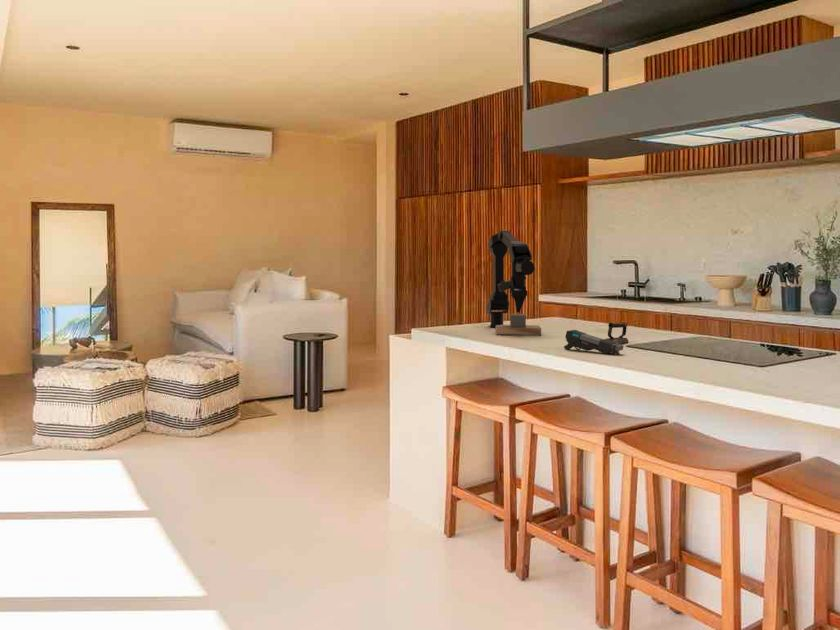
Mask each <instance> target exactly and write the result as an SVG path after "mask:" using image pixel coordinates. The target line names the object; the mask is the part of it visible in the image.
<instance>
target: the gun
mask: <svg viewBox="0 0 840 630" xmlns="http://www.w3.org/2000/svg"><path fill="white" fill-rule="evenodd" d="M565 333H566V334H565V341H566V342H567V344H566V345H564V346H563V348H564V350H565V351H567V350H568V351H569V350H570V349H572V348H575V350H576V351H580V350H583V351H587V352H588V351H592V350H593V351H594V350H595V351H598V352H600V353H603V354H605V355H606V354H611V355H614V356H617V355H620V351H623V350H624V345H625V344H624V345H621V344H618V343H616V342H613V341H610V340H607V338H601V337H598V336H595V335H591V334H588V333H587V332H583V331H579V330H577V329H571V330H566V332H565Z"/></svg>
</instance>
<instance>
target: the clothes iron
mask: <svg viewBox="0 0 840 630" xmlns="http://www.w3.org/2000/svg"><path fill="white" fill-rule="evenodd" d="M627 327H628V325H627V323H626V322H609V323H608V330H607V336H608V337H607V338H606V339H607V340H610V341H613V342H616V343H618V344H621V345H627V344H629V343H630V341H629V339H628V338H627V337H625V336H626V334H627ZM616 328H617V329H618V328H622V332H621V335H619V336H618V337H613V335H612V333H613V329H616Z"/></svg>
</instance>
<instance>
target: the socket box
mask: <svg viewBox="0 0 840 630" xmlns="http://www.w3.org/2000/svg"><path fill="white" fill-rule="evenodd" d="M496 335H501V336H509V337H510V336H511V337H512V336H514V337H517V336H518V337H519V336H520V337H521V336H522V337H542V327H541V326H540V325H536V324H533V325H532V324H531V325H530V324H529V325H527V324H526V328H514V327H510V324H503V325H496V327H495V336H496ZM501 336H500V337H501Z"/></svg>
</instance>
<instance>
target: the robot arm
mask: <svg viewBox="0 0 840 630" xmlns="http://www.w3.org/2000/svg"><path fill="white" fill-rule="evenodd" d="M487 242H488V248H489V253H490V254H491V256H492V264H493V265H492V277H493V278H492V281H493V282H492V284H493V285H492V289H493V290H492V291H491V293H490V295H489V300H488V302H487V306H486V307H485V311H486V314H490V324H489V328H496V325H504V314H508V312H509V305H510V301H509V295H508V294H507V292H506V291H507V290H509V294H510V296H511V297H512V298H513V299H514V303H515V310H516V312H517V313H520V312H521V310H522V307H523V304H524V303H525V301H526V298H527V297H528V290H527V287H526V280H527V276H530V275H532V274H533V273H534V272H535V269H536V267H535V264H534V262H532V261H531V260H533V259H532V257H533V255H532V253H531V250H530V248H529V245H528V244H527V243H526V242H523V241H519V240H518V239H517V238H516V237H515V236H514V235H513V234H512V232H511V231H509V230H499V231H497V233H496V234H494V235H492V236H491V237H489V239H488V241H487ZM507 253H508V254H509V256H510V259H511V260H510V263H511V275H510V279H509V280H507V281H506V280H505V256H506V255H507Z"/></svg>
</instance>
